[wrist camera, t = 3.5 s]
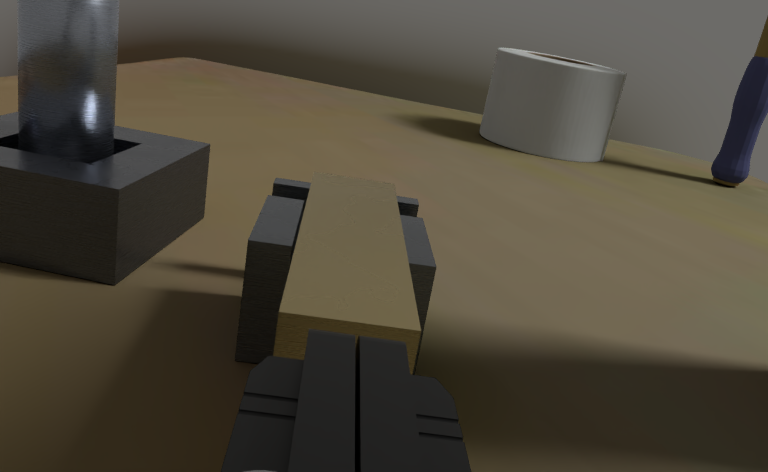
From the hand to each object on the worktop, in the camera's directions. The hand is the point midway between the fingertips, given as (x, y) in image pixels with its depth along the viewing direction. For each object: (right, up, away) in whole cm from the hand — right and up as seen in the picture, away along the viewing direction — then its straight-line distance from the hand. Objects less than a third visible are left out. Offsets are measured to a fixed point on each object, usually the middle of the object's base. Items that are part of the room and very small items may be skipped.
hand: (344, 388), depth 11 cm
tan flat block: (-1, -5, +12) cm, 13 cm away
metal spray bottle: (-16, +5, +25) cm, 30 cm away
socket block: (-16, +3, +26) cm, 31 cm away
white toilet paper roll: (+20, +13, +77) cm, 80 cm away
